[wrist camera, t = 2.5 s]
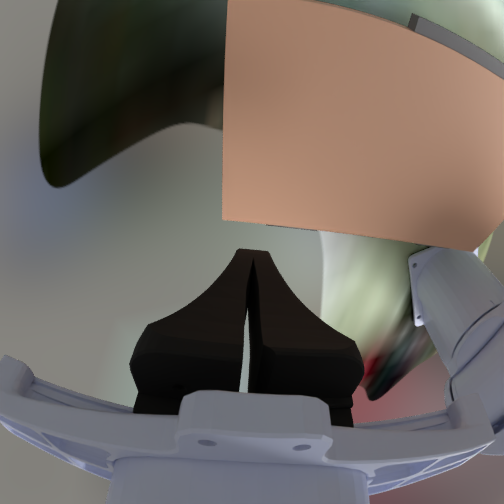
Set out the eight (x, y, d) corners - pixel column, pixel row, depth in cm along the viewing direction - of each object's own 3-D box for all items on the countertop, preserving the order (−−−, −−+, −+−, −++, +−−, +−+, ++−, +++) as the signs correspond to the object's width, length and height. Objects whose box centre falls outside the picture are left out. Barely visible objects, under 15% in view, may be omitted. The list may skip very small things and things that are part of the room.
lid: (465, 244, 18) (469, 255, 17) (224, 211, 18) (222, 224, 17) (563, 114, 7) (573, 124, 6) (233, -25, 7) (229, -24, 6)
